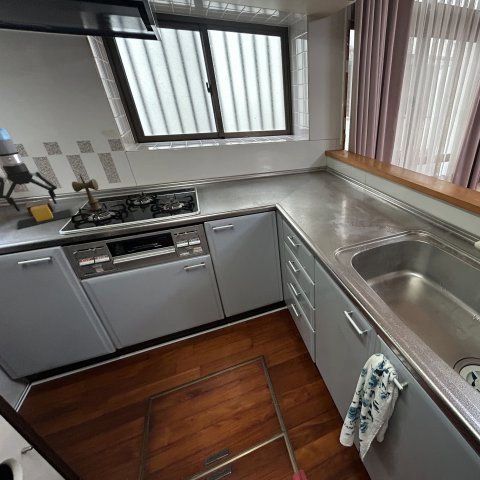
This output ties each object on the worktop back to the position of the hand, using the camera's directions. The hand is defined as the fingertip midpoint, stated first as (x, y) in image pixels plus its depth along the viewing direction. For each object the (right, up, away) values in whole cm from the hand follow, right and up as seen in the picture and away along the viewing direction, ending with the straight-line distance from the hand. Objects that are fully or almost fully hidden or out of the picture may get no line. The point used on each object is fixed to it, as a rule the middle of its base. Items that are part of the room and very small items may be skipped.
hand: (37, 206), depth 133 cm
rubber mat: (0, -6, +3) cm, 7 cm away
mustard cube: (0, -5, +3) cm, 6 cm away
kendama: (+19, 0, +13) cm, 23 cm away
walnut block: (-10, -1, +12) cm, 15 cm away
